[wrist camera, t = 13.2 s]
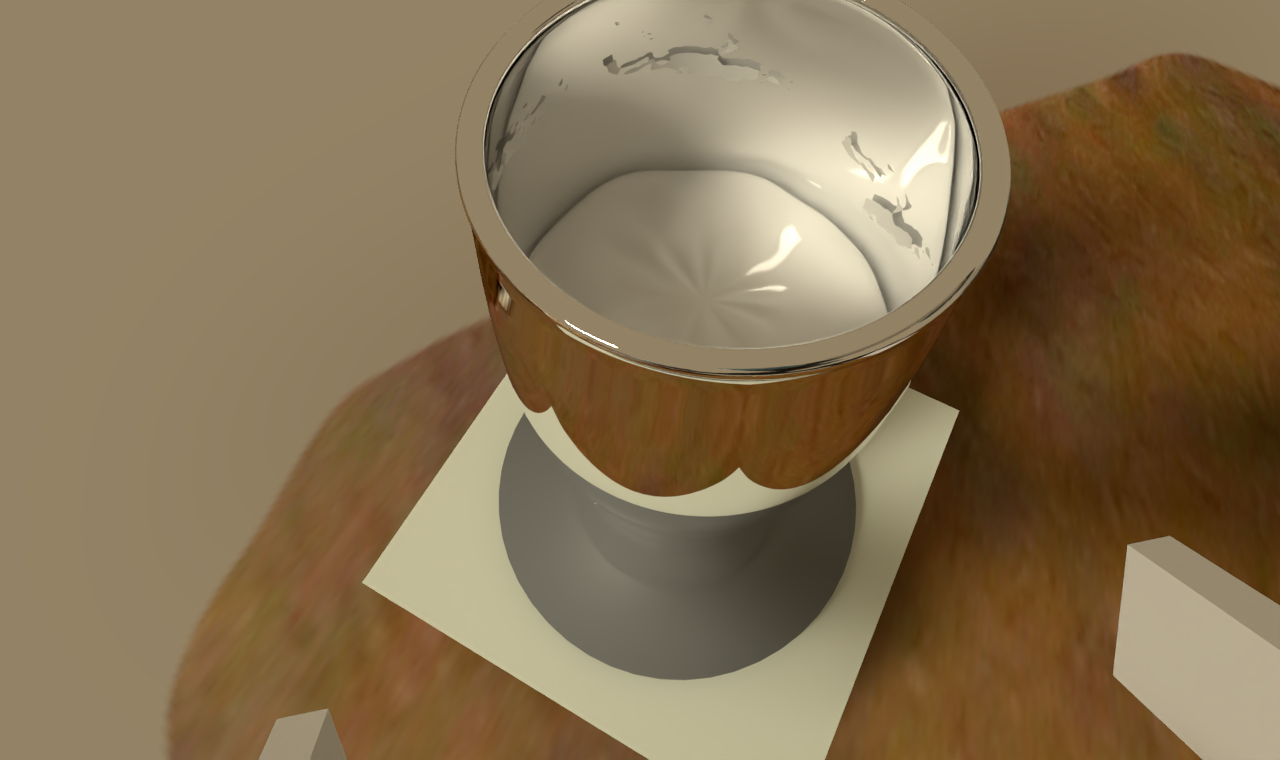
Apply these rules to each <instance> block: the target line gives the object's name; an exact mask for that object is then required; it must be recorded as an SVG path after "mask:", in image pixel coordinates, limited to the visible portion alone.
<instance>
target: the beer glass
mask: <svg viewBox="0 0 1280 760" xmlns="http://www.w3.org/2000/svg"><path fill="white" fill-rule="evenodd" d="M455 166H456V176H457V183H458V188H459V193H460V197H461V201H462V204H463V207H464V210H465V213H466V216H467V218H468V221H469V223H470V225H471V229H472V233H473V238H474V243H475V248H476V254H477V259H478V264H479V269H480V274H481V279H482V284H483V288H484V293H485V296H486V301H487V306H488V310H489V314H490V319H491V323H492V326H493V330H494V334H495V337H496V340H497V343H498V346H499V349H500V352H501V356H502V359H503V362H504V365H505V368H506V371H507V374H508V377H509V380H510V382H511V385H512V387H513V389H514V391H515V393H516V395H517V398H518V400H519V402H520V404H521V406H522V408H523V410H524V412H525V415H526V417H527V419H528V421H529V423H530V425H531V427H532V429H533V431H534V432H535V434H536V436H537V437H538V439H539V440H540V442H541V443H542V445H543V446H544V448H545V449H546V450H547V452H548V453H549V454H550V455H551V457H552V458H553V459H554V460H555V462H556V463H557V464H558V465H559V467H560V468H561V469H562V470H563V472H564V473H565V474H566V475H567V476H568V478H569V479H570V480H571V481H572V482H573V483H574V484H575V485H576V500H577V507H578V512H579V516H580V520H581V523H582V525H583V528H584V530H585V532H586V535H587V536H588V538H589V540H590V542H591V543H592V545H593V546H594V548H595V549H596V550H597V552H598V553H599V554H600V555H601V556H602V557H603V559H605V560H606V561H607V562H608V563H609V564H610V565H611V566H613V567H614V568H615V569H617V570H618V571H619V572H621V573H622V574H624V575H626V576H627V577H629V578H631V579H633V580H635V581H637V582H640V583H642V584H645V585H648V586H651V587H655V588H660V589H667V590H689V589H696V588H700V587H704V586H708V585H711V584H714V583H716V582H718V581H721V580H723V579H725V578H726V577H728V576H730V575H731V574H733V573H734V572H736V571H737V570H739V569H740V568H741V567H742V566H743V565H745V564H746V563H747V562H748V561H749V560H750V559H751V557H752V556H753V555H754V554H755V553H756V551H757V550H758V549H759V547H760V545H761V544H762V542H763V540H764V539H765V537H766V535H767V533H768V530H769V528H770V525H771V522H772V519H773V518H774V517H776V516H778V515H780V514H781V513H783V512H785V511H787V510H788V509H790V508H791V507H793V506H794V505H796V504H798V503H799V502H801V501H802V500H804V499H805V498H807V497H809V496H810V495H812V494H813V493H815V492H816V491H817V490H819V489H820V488H821V487H823V486H824V485H825V484H826V483H828V482H829V481H830V480H831V479H832V478H833V477H834V476H836V475H837V474H838V473H839V472H840V471H841V469H842V468H843V467H844V466H845V465H846V464H847V463H848V462H849V461H850V460H851V459H852V458H853V457H854V456H855V455H856V454H857V453H858V452H859V451H860V450H861V449H862V448H863V447H864V446H865V445H866V444H867V442H868V441H869V440H870V439H871V438H872V437H873V436H874V434H875V433H876V432H877V430H878V429H879V428H880V426H881V425H882V424H883V422H884V421H885V419H886V418H887V417H888V415H889V414H890V413H891V411H892V410H893V408H894V407H895V406H896V404H897V403H898V401H899V400H900V399H901V397H902V396H903V394H904V393H905V392H906V390H907V389H908V387H909V386H910V384H911V382H912V381H913V379H914V378H915V376H916V374H917V373H918V371H919V369H920V368H921V366H922V364H923V363H924V361H925V359H926V358H927V356H928V354H929V353H930V351H931V349H932V348H933V346H934V345H935V343H936V341H937V339H938V338H939V336H940V334H941V332H942V330H943V329H944V327H945V325H946V323H947V321H948V320H949V318H950V316H951V314H952V312H953V311H954V309H955V307H956V305H957V304H958V302H959V300H960V299H961V297H962V295H963V294H964V293H965V292H966V291H967V290H968V289H969V287H970V286H971V285H972V284H973V282H974V281H975V280H976V278H977V277H978V276H979V274H980V273H981V271H982V270H983V268H984V267H985V265H986V263H987V262H988V260H989V258H990V256H991V254H992V252H993V250H994V248H995V246H996V244H997V241H998V239H999V236H1000V234H1001V231H1002V228H1003V225H1004V222H1005V218H1006V215H1007V210H1008V205H1009V198H1010V189H1011V161H1010V154H1009V147H1008V142H1007V138H1006V134H1005V130H1004V127H1003V123H1002V120H1001V117H1000V115H999V112H998V109H997V107H996V105H995V103H994V100H993V98H992V96H991V94H990V93H989V91H988V89H987V87H986V85H985V84H984V82H983V81H982V79H981V77H980V76H979V74H978V73H977V71H976V70H975V68H974V67H973V66H972V64H971V63H970V62H969V60H968V59H967V58H966V57H965V56H964V54H963V53H962V52H961V51H960V50H959V49H958V48H957V47H956V46H955V44H954V43H953V42H952V41H951V40H950V39H949V38H948V37H947V36H946V35H944V34H943V33H942V32H941V31H940V30H939V29H938V28H937V27H936V26H934V25H933V24H932V23H931V22H930V21H928V20H927V19H926V18H924V17H923V16H922V15H921V14H919V13H918V12H916V11H915V10H913V9H912V8H911V7H909V6H908V5H906V4H905V3H903V2H901V1H900V0H544V1H542V2H541V3H539V4H538V5H537V6H535V7H534V8H533V9H531V10H530V11H529V12H528V13H526V14H525V15H524V16H523V17H522V18H520V19H519V20H518V21H517V22H516V23H515V24H514V25H513V26H512V27H511V28H510V29H509V30H508V31H507V32H506V33H505V34H504V35H503V36H502V37H501V38H500V39H499V41H498V42H497V43H496V44H495V45H494V47H493V48H492V49H491V51H490V52H489V53H488V55H487V56H486V58H485V59H484V61H483V62H482V64H481V65H480V67H479V69H478V71H477V72H476V74H475V76H474V78H473V80H472V82H471V84H470V86H469V88H468V91H467V93H466V96H465V99H464V101H463V105H462V108H461V112H460V116H459V120H458V125H457V132H456V142H455Z"/></svg>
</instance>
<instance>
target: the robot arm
mask: <svg viewBox="0 0 1280 760" xmlns="http://www.w3.org/2000/svg"><path fill="white" fill-rule="evenodd" d="M1113 676H1114V677H1115V678H1116V679H1117V680H1118V681H1120V682H1121V683H1122V684H1123V685H1124V686H1125V687H1126V688H1127V689H1128V690H1129V691H1130V692H1131V693H1132V694H1133V695H1134V696H1135V697H1137V698H1138V699H1139V700H1140V701H1141V702H1142V703H1143V704H1144V705H1145V706H1146V707H1147V708H1148V709H1149V710H1150V711H1151V712H1153V713H1154V714H1155V715H1156V716H1157V717H1158V718H1159V719H1160V720H1161V721H1162V722H1163V723H1164V724H1165V725H1166V726H1167V727H1168V728H1170V729H1171V730H1172V731H1173V732H1174V733H1175V734H1176V735H1177V736H1178V737H1179V738H1180V739H1181V740H1182V741H1183V742H1184V743H1186V744H1187V745H1188V746H1189V747H1190V748H1191V749H1192V750H1193V751H1194V752H1195V753H1196V754H1197V755H1198V756H1199V757H1200V758H1201V759H1203V760H1280V605H1278V604H1277V603H1275V602H1273V601H1272V600H1270V599H1269V598H1267V597H1265V596H1264V595H1262V594H1261V593H1259V592H1258V591H1256V590H1254V589H1253V588H1251V587H1250V586H1248V585H1247V584H1245V583H1243V582H1242V581H1240V580H1239V579H1237V578H1235V577H1234V576H1232V575H1231V574H1229V573H1228V572H1226V571H1224V570H1223V569H1221V568H1220V567H1218V566H1217V565H1215V564H1213V563H1212V562H1210V561H1209V560H1207V559H1205V558H1204V557H1202V556H1201V555H1199V554H1198V553H1196V552H1194V551H1193V550H1191V549H1190V548H1188V547H1187V546H1185V545H1183V544H1182V543H1180V542H1179V541H1177V540H1175V539H1174V538H1172V537H1171V536H1167V537H1162V538H1157V539H1153V540H1148V541H1143V542H1138V543H1133V544H1128V545H1127V554H1126V563H1125V572H1124V581H1123V590H1122V599H1121V608H1120V617H1119V626H1118V635H1117V644H1116V653H1115V662H1114V671H1113ZM259 760H347V758H346V756H345V753H344V750H343V747H342V745H341V742H340V739H339V736H338V734H337V731H336V728H335V725H334V723H333V720H332V717H331V715H330V712H329V709H324V710H319V711H314V712H309V713H304V714H300V715H295V716H290V717H285V718H280V719H277V720H276V722H275V724H274V727H273V729H272V731H271V733H270V736H269V738H268V740H267V742H266V744H265V747H264V749H263V751H262V753H261V756H260V758H259Z"/></svg>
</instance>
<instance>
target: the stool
mask: <svg viewBox="0 0 1280 760" xmlns="http://www.w3.org/2000/svg"><path fill="white" fill-rule="evenodd" d="M958 413H959V410H957V409H955V408H952V407H950V406H948V405H946V404H944V403H941V402H939V401H937V400H935V399H933V398H930V397H928V396H926V395H924V394H922V393H919V392H917V391H915V390H913V389H911V388H908V389H907V390H906V392H905V393H904V394H903V396H902V397H901V399H900V400H899V401H898V403H897V404H896V406H895V407H894V408H893V410H892V411H891V413H890V414H889V415H888V417H887V418H886V419H885V421H884V422H883V424H882V425H881V426H880V428H879V429H878V430H877V432H876V433H875V434H874V436H873V437H872V438H871V439H870V440H869V441H868V442H867V444H866V445H865V446H864V447H863V448H862V449H861V450H860V451H859V452H858V453H857V454H856V455H855V456H854V457H853V458H852V459H851V460H850V461H849V462H848V463H847V464H846V465H845V466H844V467H843V468H842V469H841V471H840V472H839V473H838V474H837V475H836V476H834V477H833V478H832V479H831V480H830V481H829V482H828V483H826V484H825V485H824V486H823V487H821V488H820V489H819V490H817V491H816V492H815V493H813V494H812V495H810V496H809V497H807V498H805V499H804V500H802V501H801V502H799V503H798V504H796V505H794V506H793V507H791V508H790V509H788V510H787V511H785V512H783V513H781V514H780V515H778V516H776V517H774V518H773V519H772V522H771V525H770V528H769V530H768V533H767V535H766V537H765V539H764V540H763V542H762V544H761V545H760V547H759V549H758V550H757V551H756V553H755V554H754V555H753V556H752V557H751V559H750V560H749V561H748V562H747V563H746V564H745V565H743V566H742V567H741V568H740V569H739V570H737V571H736V572H734V573H733V574H731V575H730V576H728V577H726V578H725V579H723V580H721V581H718V582H716V583H714V584H711V585H708V586H704V587H700V588H696V589H689V590H667V589H660V588H655V587H651V586H648V585H645V584H642V583H640V582H637V581H635V580H633V579H631V578H629V577H627V576H626V575H624V574H622V573H621V572H619V571H618V570H617V569H615V568H614V567H613V566H611V565H610V564H609V563H608V562H607V561H606V560H605V559H603V557H602V556H601V555H600V554H599V553H598V552H597V550H596V549H595V548H594V546H593V545H592V543H591V542H590V540H589V538H588V536H587V535H586V532H585V530H584V528H583V525H582V523H581V520H580V516H579V512H578V507H577V500H576V485H575V484H574V483H573V482H572V481H571V480H570V479H569V478H568V476H567V475H566V474H565V473H564V472H563V470H562V469H561V468H560V467H559V465H558V464H557V463H556V462H555V460H554V459H553V458H552V457H551V455H550V454H549V453H548V452H547V450H546V449H545V448H544V446H543V445H542V443H541V442H540V440H539V439H538V437H537V436H536V434H535V432H534V431H533V429H532V427H531V425H530V423H529V421H528V419H527V417H526V415H525V412H524V410H523V408H522V406H521V404H520V402H519V400H518V398H517V395H516V393H515V391H514V389H513V387H512V385H511V382H510V380H509V377H508V374H506V376H505V377H504V379H503V380H502V382H501V383H500V384H499V386H498V387H497V389H496V390H495V392H494V393H493V395H492V396H491V397H490V399H489V400H488V402H487V403H486V405H485V406H484V407H483V409H482V410H481V412H480V413H479V415H478V416H477V418H476V419H475V420H474V422H473V423H472V425H471V426H470V428H469V429H468V431H467V432H466V433H465V435H464V436H463V438H462V439H461V441H460V442H459V444H458V445H457V446H456V448H455V449H454V451H453V452H452V454H451V455H450V457H449V458H448V459H447V461H446V462H445V464H444V465H443V467H442V468H441V470H440V471H439V472H438V474H437V475H436V477H435V478H434V480H433V481H432V483H431V484H430V485H429V487H428V488H427V490H426V491H425V493H424V494H423V496H422V497H421V498H420V500H419V501H418V503H417V504H416V506H415V507H414V508H413V510H412V511H411V513H410V514H409V516H408V517H407V519H406V520H405V521H404V523H403V524H402V526H401V527H400V529H399V530H398V532H397V533H396V534H395V536H394V537H393V539H392V540H391V542H390V543H389V545H388V546H387V547H386V549H385V550H384V552H383V553H382V555H381V556H380V558H379V559H378V560H377V562H376V563H375V565H374V566H373V568H372V569H371V571H370V572H369V573H368V575H367V576H366V578H365V579H364V581H363V582H362V583H364V584H365V585H367V586H368V587H370V588H372V589H373V590H375V591H377V592H378V593H380V594H381V595H383V596H385V597H386V598H388V599H389V600H391V601H393V602H394V603H396V604H398V605H399V606H401V607H402V608H404V609H406V610H407V611H409V612H411V613H412V614H414V615H415V616H417V617H419V618H420V619H422V620H424V621H425V622H427V623H428V624H430V625H432V626H433V627H435V628H437V629H438V630H440V631H441V632H443V633H445V634H446V635H448V636H450V637H451V638H453V639H454V640H456V641H458V642H459V643H461V644H462V645H464V646H466V647H467V648H469V649H471V650H472V651H474V652H475V653H477V654H479V655H480V656H482V657H484V658H485V659H487V660H488V661H490V662H492V663H493V664H495V665H497V666H498V667H500V668H501V669H503V670H505V671H506V672H508V673H510V674H511V675H513V676H514V677H516V678H518V679H519V680H521V681H523V682H524V683H526V684H527V685H529V686H531V687H532V688H534V689H536V690H537V691H539V692H540V693H542V694H544V695H545V696H547V697H548V698H550V699H552V700H553V701H555V702H557V703H558V704H560V705H561V706H563V707H565V708H566V709H568V710H570V711H571V712H573V713H574V714H576V715H578V716H579V717H581V718H583V719H584V720H586V721H587V722H589V723H591V724H592V725H594V726H596V727H597V728H599V729H600V730H602V731H604V732H605V733H607V734H609V735H610V736H612V737H613V738H615V739H617V740H618V741H620V742H621V743H623V744H625V745H626V746H628V747H630V748H631V749H633V750H634V751H636V752H638V753H639V754H641V755H643V756H644V757H646V758H647V759H649V760H825V757H826V755H827V752H828V750H829V747H830V745H831V742H832V739H833V737H834V734H835V732H836V729H837V726H838V724H839V721H840V719H841V716H842V713H843V711H844V708H845V706H846V703H847V700H848V698H849V695H850V693H851V690H852V687H853V685H854V682H855V680H856V677H857V675H858V672H859V669H860V667H861V664H862V662H863V659H864V656H865V654H866V651H867V649H868V646H869V643H870V641H871V638H872V636H873V633H874V630H875V628H876V625H877V623H878V620H879V617H880V615H881V612H882V610H883V607H884V605H885V602H886V599H887V597H888V594H889V592H890V589H891V586H892V584H893V581H894V579H895V576H896V573H897V571H898V568H899V566H900V563H901V560H902V558H903V555H904V553H905V550H906V547H907V545H908V542H909V540H910V537H911V535H912V532H913V529H914V527H915V524H916V522H917V519H918V516H919V514H920V511H921V509H922V506H923V503H924V501H925V498H926V496H927V493H928V490H929V488H930V485H931V483H932V480H933V477H934V475H935V472H936V470H937V467H938V465H939V462H940V459H941V457H942V454H943V452H944V449H945V446H946V444H947V441H948V439H949V436H950V433H951V431H952V428H953V426H954V423H955V420H956V418H957V415H958Z"/></svg>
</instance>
